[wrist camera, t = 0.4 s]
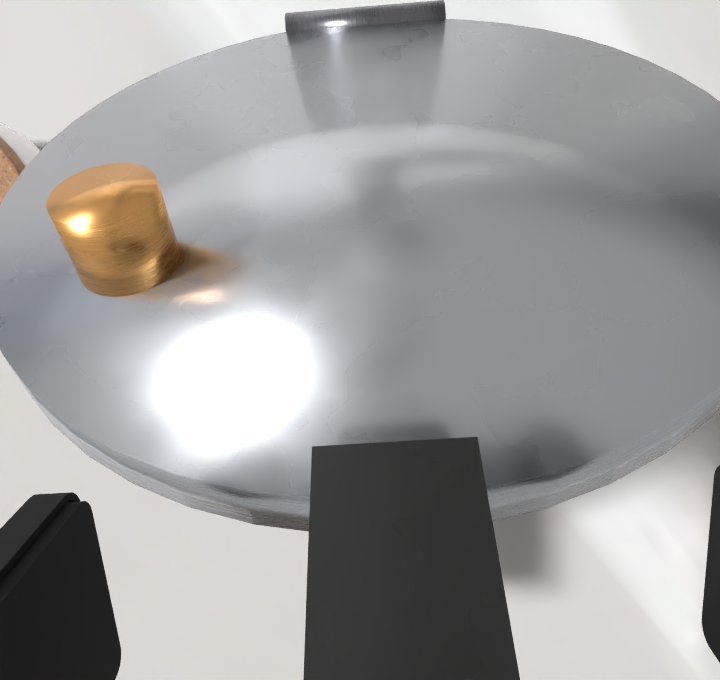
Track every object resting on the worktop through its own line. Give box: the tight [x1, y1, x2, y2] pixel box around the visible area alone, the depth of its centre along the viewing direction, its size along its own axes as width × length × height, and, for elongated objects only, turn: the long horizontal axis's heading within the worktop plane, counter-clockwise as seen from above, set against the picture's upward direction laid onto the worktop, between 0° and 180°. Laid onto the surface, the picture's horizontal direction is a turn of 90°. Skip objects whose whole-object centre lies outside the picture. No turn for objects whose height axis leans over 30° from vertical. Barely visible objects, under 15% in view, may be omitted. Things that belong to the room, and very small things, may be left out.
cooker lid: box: [0, 0, 720, 680], centre depth 16 cm, size 27×21×3 cm
